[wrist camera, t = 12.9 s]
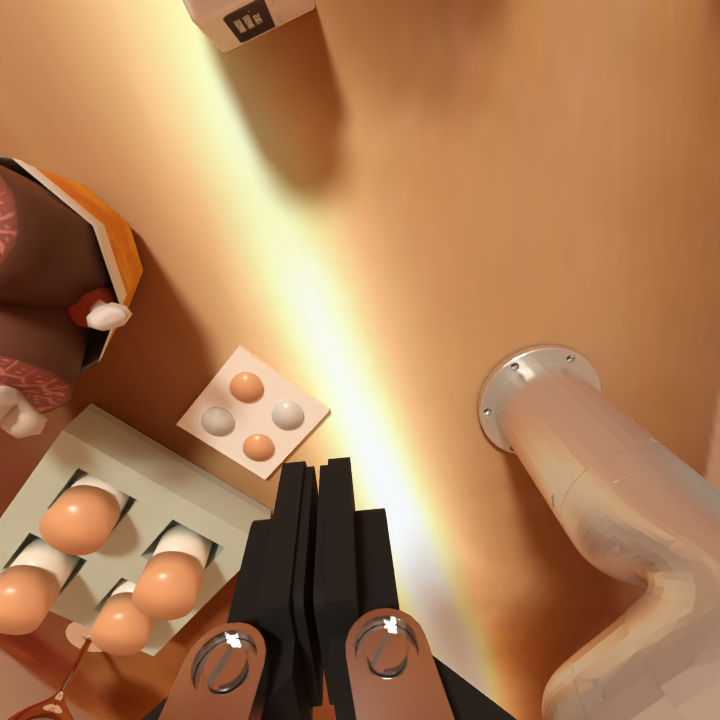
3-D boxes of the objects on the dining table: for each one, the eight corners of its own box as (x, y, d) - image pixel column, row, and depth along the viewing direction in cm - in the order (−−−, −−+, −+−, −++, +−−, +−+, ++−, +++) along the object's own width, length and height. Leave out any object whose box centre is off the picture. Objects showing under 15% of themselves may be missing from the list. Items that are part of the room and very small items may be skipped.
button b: (147, 478, 46) (117, 528, 40) (120, 511, 47) (86, 564, 41) (97, 449, 44) (57, 497, 38) (71, 485, 46) (28, 536, 39)
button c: (179, 575, 52) (157, 633, 45) (154, 602, 53) (129, 662, 47) (136, 554, 50) (107, 610, 43) (111, 582, 51) (79, 641, 45)
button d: (91, 549, 47) (52, 610, 40) (66, 580, 48) (25, 642, 42) (40, 524, 45) (-9, 583, 39) (16, 556, 47) (-35, 618, 40)
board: (271, 510, 50) (264, 544, 46) (168, 616, 56) (153, 656, 52) (91, 402, 44) (62, 430, 39) (-4, 535, 50) (-38, 572, 45)
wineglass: (72, 657, 58) (-32, 849, 42) (48, 615, 55) (-75, 805, 39) (133, 650, 58) (54, 839, 42) (113, 608, 55) (18, 794, 39)
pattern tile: (329, 408, 45) (329, 412, 45) (265, 476, 48) (264, 481, 48) (240, 344, 42) (238, 348, 41) (178, 421, 45) (175, 426, 44)
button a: (224, 537, 47) (206, 595, 41) (195, 567, 49) (174, 628, 42) (178, 511, 45) (152, 568, 39) (150, 544, 47) (120, 603, 41)
